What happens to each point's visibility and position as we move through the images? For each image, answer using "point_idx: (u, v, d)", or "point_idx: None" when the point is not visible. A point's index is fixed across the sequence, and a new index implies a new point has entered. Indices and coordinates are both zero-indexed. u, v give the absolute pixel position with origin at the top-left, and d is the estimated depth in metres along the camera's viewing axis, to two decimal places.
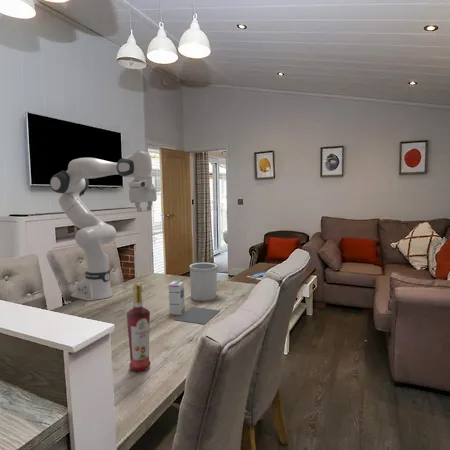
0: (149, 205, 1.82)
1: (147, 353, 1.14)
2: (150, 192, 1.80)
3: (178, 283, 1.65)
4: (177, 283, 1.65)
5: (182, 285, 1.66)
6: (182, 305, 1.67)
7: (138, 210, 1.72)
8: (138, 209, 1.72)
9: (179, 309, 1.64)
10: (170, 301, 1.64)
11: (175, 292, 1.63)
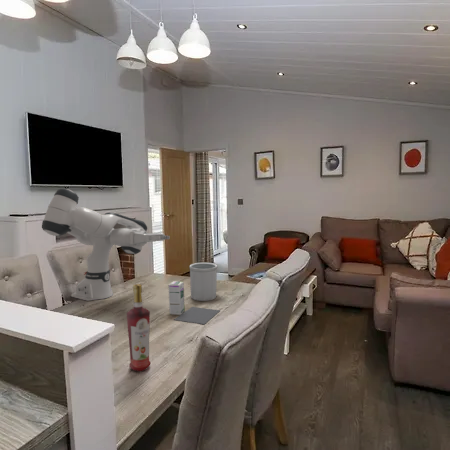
0: (164, 237, 1.76)
1: (147, 353, 1.14)
2: None
3: (178, 283, 1.65)
4: (177, 283, 1.65)
5: (182, 285, 1.66)
6: (182, 305, 1.67)
7: (158, 238, 1.66)
8: (157, 238, 1.66)
9: (179, 309, 1.64)
10: (170, 301, 1.64)
11: (175, 292, 1.63)
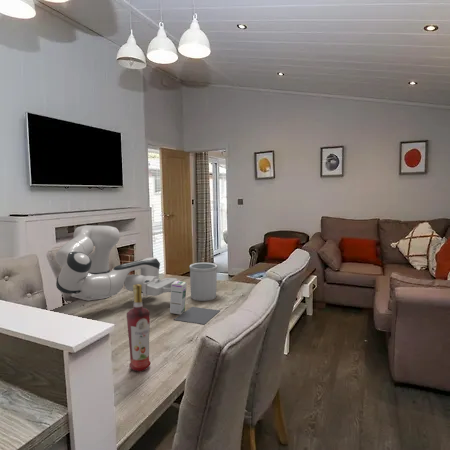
0: None
1: (147, 353, 1.14)
2: (164, 280, 1.78)
3: (181, 283, 1.64)
4: (180, 283, 1.64)
5: (185, 285, 1.66)
6: (183, 306, 1.67)
7: (170, 290, 1.66)
8: (169, 290, 1.66)
9: (180, 309, 1.64)
10: (171, 300, 1.64)
11: (177, 292, 1.63)
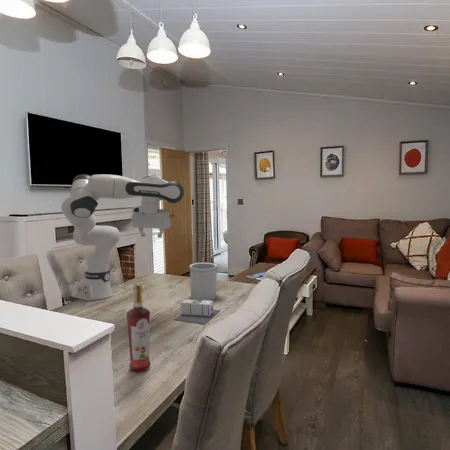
0: None
1: (147, 353, 1.14)
2: (156, 218, 1.68)
3: (211, 311, 1.62)
4: (211, 311, 1.62)
5: None
6: None
7: None
8: None
9: (185, 313, 1.63)
10: (193, 305, 1.62)
11: (202, 311, 1.61)
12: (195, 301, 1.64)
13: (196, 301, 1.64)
